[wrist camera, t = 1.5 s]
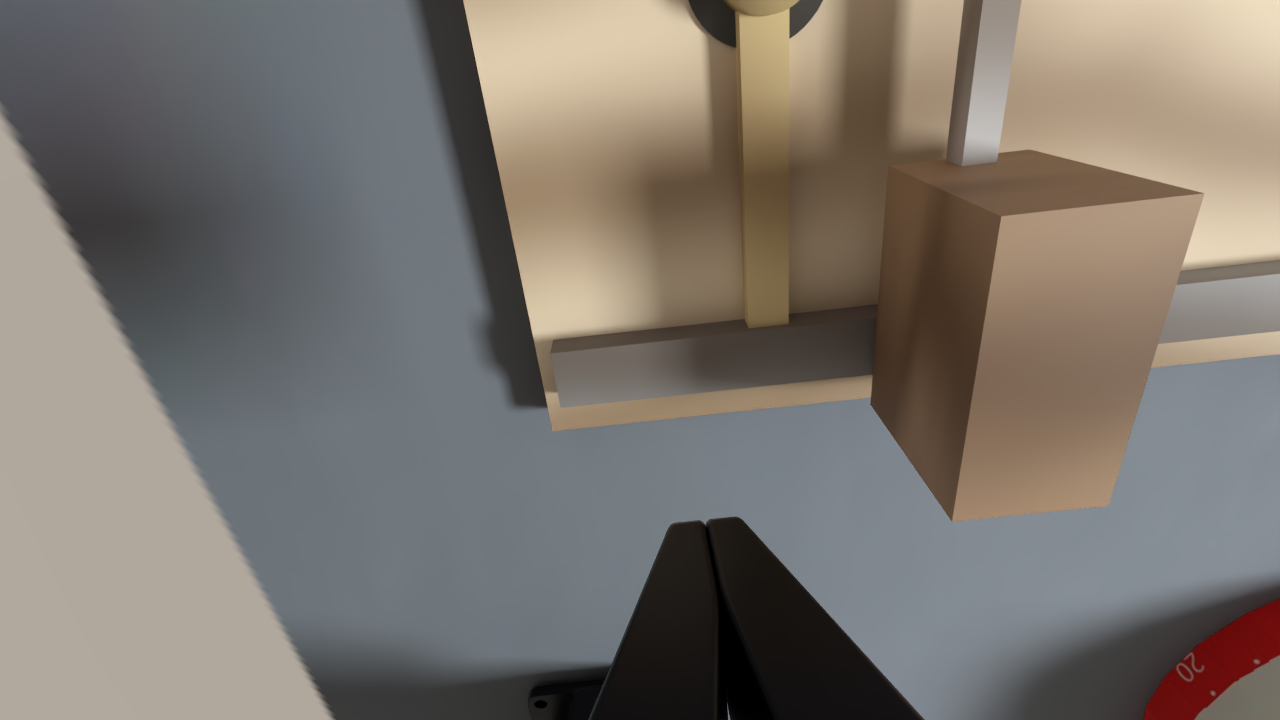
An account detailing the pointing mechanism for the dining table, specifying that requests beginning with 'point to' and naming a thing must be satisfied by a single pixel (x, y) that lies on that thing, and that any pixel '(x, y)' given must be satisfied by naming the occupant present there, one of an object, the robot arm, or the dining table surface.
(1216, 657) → the white dome
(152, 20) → the dining table surface
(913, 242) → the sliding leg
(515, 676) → the dining table surface
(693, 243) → the gauge board
